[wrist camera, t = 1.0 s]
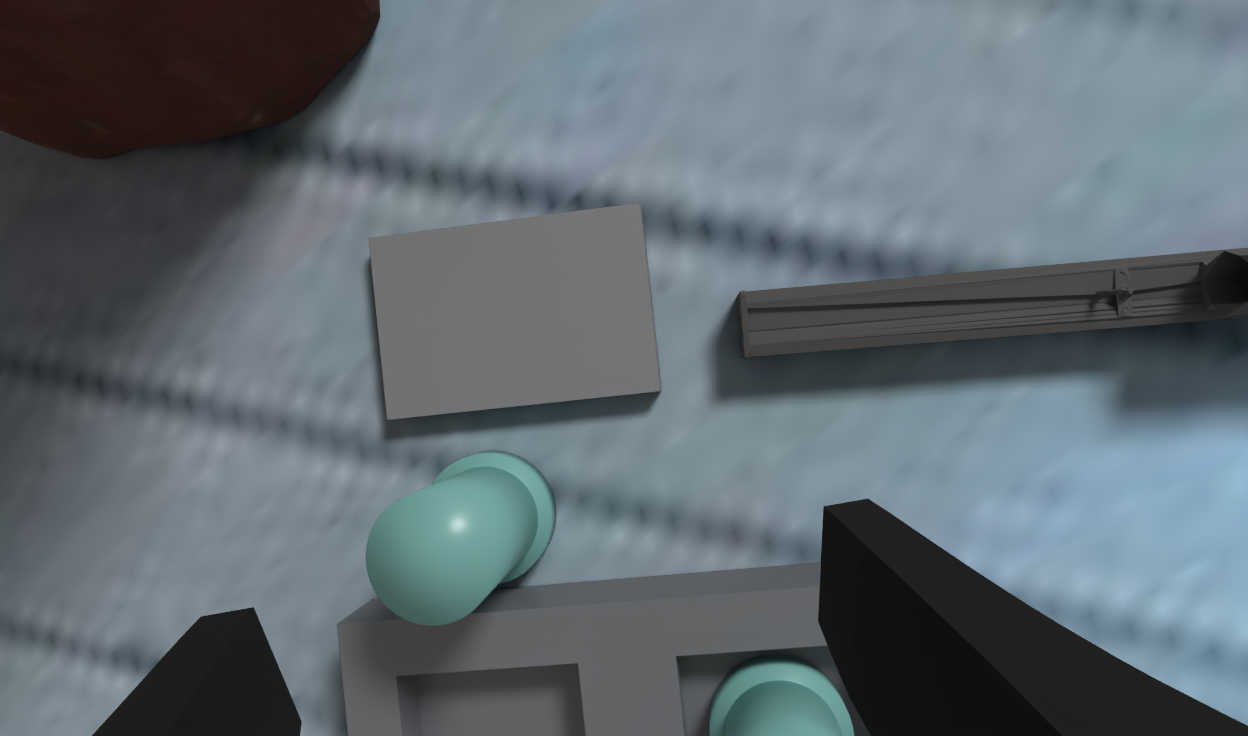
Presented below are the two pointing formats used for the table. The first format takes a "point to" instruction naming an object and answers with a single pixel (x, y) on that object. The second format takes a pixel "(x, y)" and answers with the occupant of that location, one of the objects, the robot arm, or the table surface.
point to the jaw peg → (460, 537)
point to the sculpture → (167, 67)
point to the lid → (515, 312)
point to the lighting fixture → (996, 303)
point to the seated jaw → (778, 700)
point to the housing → (580, 656)
